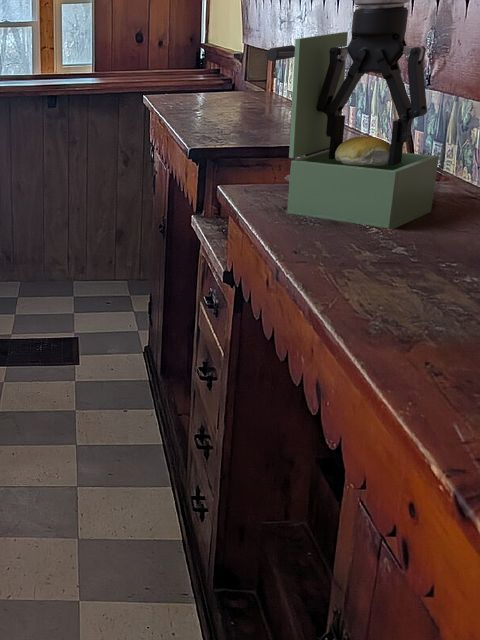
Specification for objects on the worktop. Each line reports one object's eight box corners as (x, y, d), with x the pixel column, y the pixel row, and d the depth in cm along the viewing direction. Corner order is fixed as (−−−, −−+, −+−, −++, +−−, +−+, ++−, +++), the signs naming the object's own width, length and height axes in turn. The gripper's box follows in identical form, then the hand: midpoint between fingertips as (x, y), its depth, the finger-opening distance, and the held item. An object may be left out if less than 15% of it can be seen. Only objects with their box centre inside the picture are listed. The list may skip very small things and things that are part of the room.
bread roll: (375, 155, 140) (378, 130, 139) (401, 165, 132) (404, 139, 131) (325, 158, 140) (327, 133, 139) (347, 169, 132) (350, 142, 130)
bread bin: (431, 212, 138) (439, 155, 134) (388, 231, 129) (396, 171, 125) (332, 198, 149) (337, 146, 146) (286, 216, 140) (290, 160, 137)
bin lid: (348, 31, 139) (300, 33, 145) (300, 38, 130) (251, 40, 136) (339, 144, 146) (294, 141, 151) (293, 158, 137) (247, 154, 142)
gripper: (468, 2, 122) (445, 163, 131) (324, 7, 137) (312, 150, 146) (446, 5, 117) (423, 171, 126) (300, 9, 132) (288, 158, 141)
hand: (364, 160), depth 136 cm, fingers closed on bread roll, 9 cm apart
